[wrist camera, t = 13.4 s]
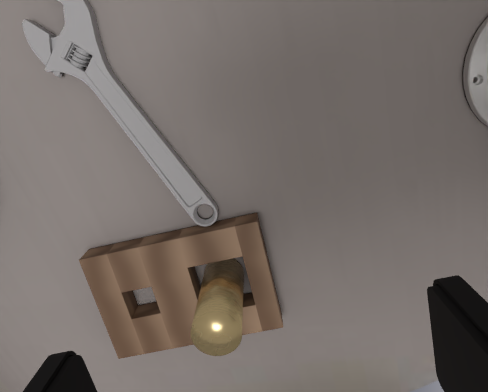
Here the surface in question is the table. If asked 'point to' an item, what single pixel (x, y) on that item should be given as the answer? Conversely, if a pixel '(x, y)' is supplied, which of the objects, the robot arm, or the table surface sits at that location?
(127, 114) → the adjustable wrench
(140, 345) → the socket board
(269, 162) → the table surface
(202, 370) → the table surface
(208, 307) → the brass peg
